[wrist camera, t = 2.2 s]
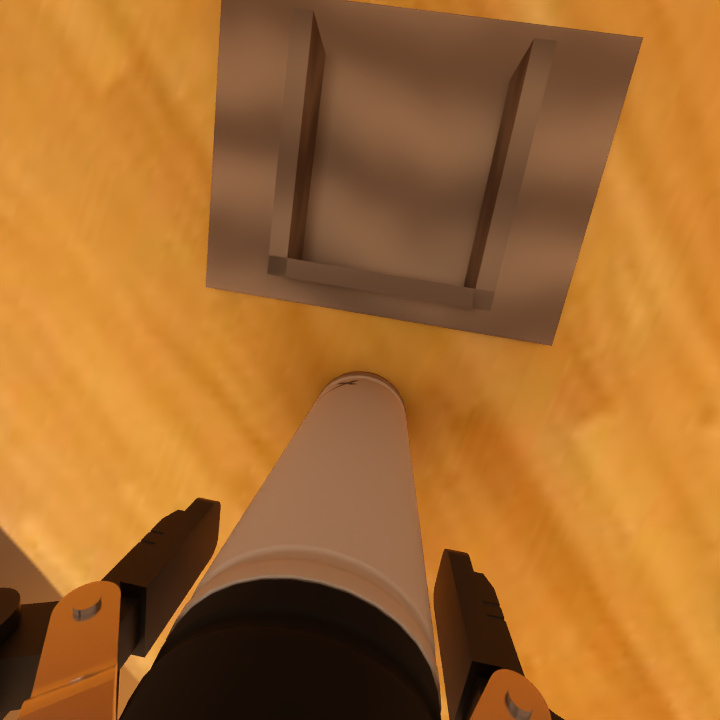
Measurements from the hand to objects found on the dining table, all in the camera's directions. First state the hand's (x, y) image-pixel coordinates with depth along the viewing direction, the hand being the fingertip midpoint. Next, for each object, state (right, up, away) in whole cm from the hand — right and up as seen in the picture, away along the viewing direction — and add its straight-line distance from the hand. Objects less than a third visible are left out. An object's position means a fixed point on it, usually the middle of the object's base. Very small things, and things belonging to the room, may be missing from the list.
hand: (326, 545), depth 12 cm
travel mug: (+1, +3, +12) cm, 13 cm away
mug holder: (+3, +17, +9) cm, 19 cm away
